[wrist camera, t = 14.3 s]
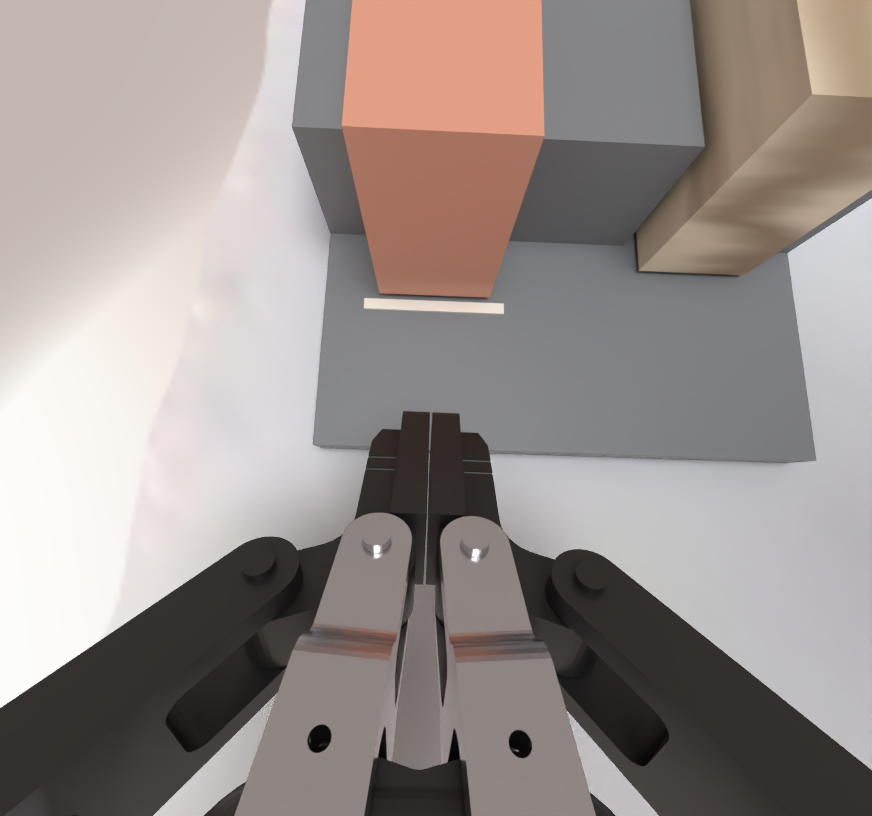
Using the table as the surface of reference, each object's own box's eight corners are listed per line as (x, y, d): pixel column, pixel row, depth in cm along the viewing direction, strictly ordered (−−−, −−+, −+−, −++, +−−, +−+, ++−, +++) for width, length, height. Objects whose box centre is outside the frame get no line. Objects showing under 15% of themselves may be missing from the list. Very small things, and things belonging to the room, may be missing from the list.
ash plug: (722, 96, 22) (926, -172, 13) (744, 275, 20) (999, 103, 11) (626, 91, 22) (766, -183, 13) (638, 270, 20) (812, 94, 11)
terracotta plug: (490, 111, 21) (537, -158, 12) (489, 297, 19) (544, 136, 10) (390, 106, 21) (366, -169, 12) (379, 293, 19) (341, 126, 10)
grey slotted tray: (741, 105, 24) (883, -65, 17) (787, 462, 20) (997, 446, 13) (350, 85, 23) (316, -100, 16) (320, 447, 20) (259, 422, 12)
